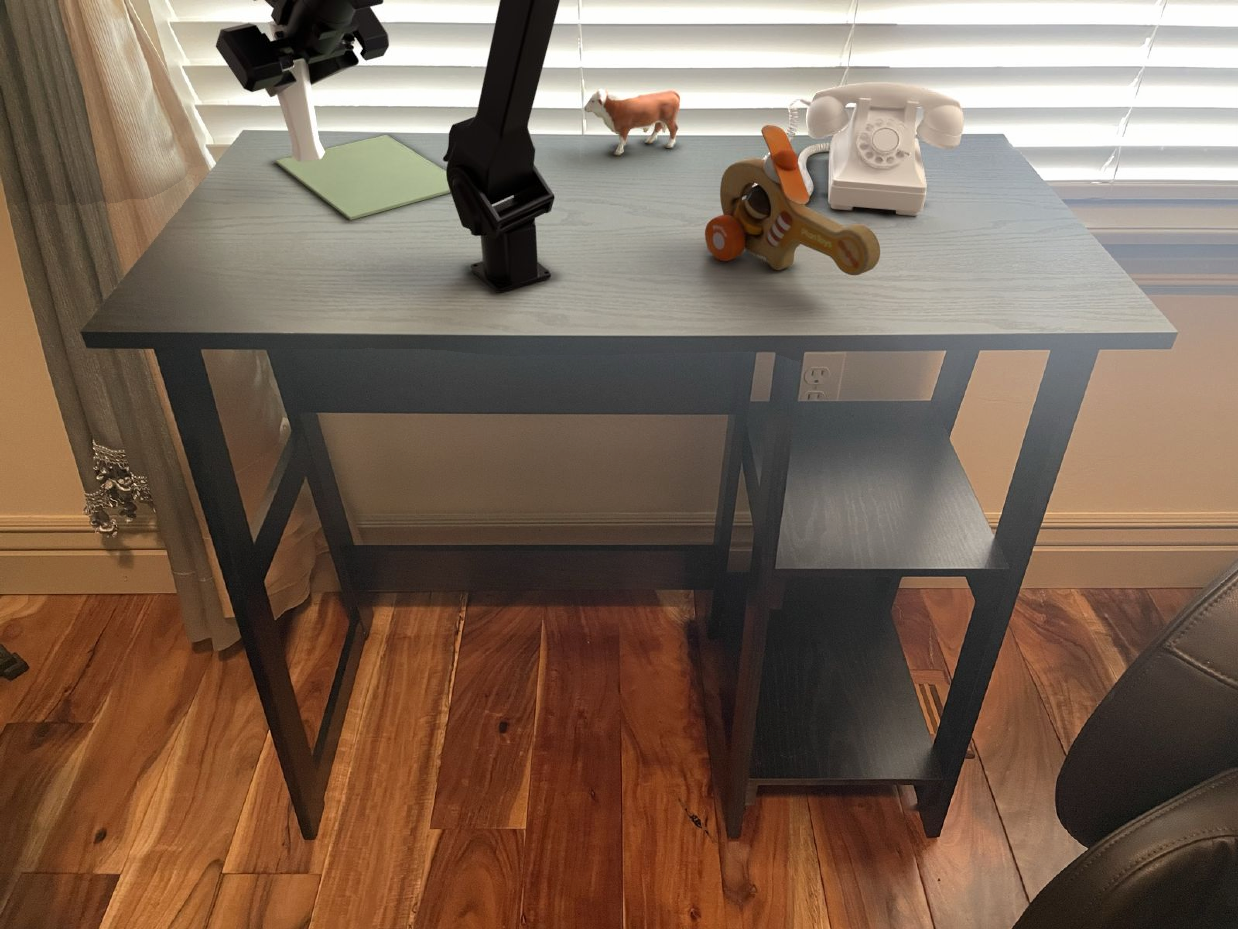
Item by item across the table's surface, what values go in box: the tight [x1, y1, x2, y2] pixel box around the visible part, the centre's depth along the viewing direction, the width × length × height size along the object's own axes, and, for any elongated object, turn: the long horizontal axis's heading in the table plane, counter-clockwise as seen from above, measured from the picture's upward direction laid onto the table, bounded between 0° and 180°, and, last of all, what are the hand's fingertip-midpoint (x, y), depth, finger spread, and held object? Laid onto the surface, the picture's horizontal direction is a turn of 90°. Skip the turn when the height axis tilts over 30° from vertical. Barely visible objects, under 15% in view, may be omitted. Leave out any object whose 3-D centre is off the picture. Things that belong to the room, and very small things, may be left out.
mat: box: [275, 134, 451, 221], centre depth 119 cm, size 22×16×1 cm
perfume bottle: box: [267, 20, 325, 162], centre depth 107 cm, size 5×4×15 cm
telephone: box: [753, 81, 965, 217], centre depth 116 cm, size 25×21×12 cm
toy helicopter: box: [704, 124, 881, 276], centre depth 96 cm, size 8×21×14 cm, turn 39°
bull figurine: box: [583, 88, 681, 156], centre depth 125 cm, size 4×13×8 cm, turn 107°
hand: (286, 88), depth 108 cm, fingers closed on perfume bottle, 4 cm apart
